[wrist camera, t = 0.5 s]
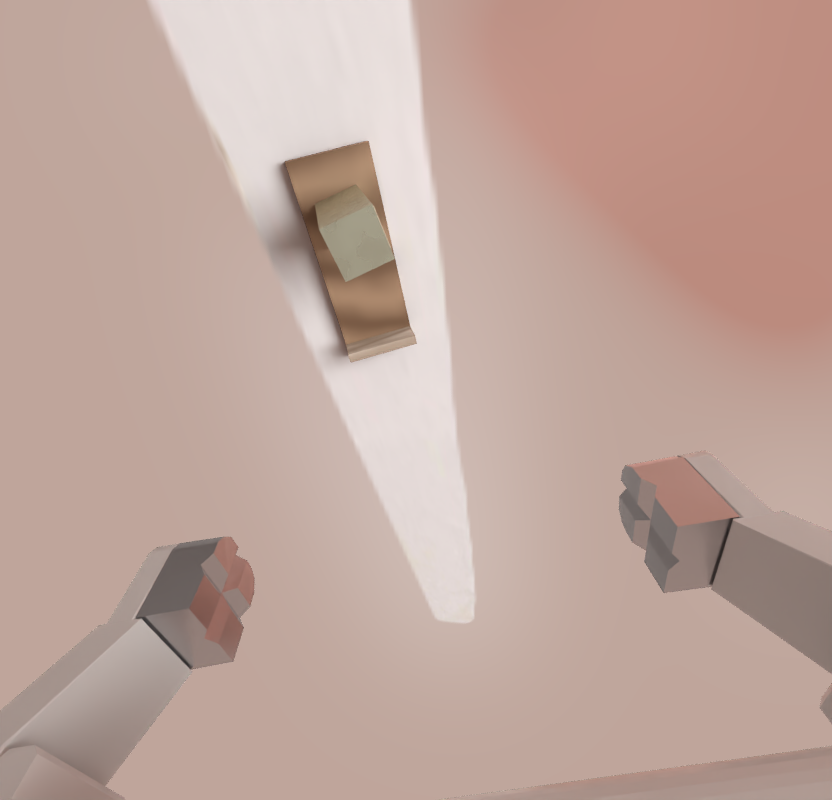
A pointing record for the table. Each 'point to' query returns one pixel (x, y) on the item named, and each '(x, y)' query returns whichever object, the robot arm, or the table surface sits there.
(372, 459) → the table surface
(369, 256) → the tea tin
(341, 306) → the shelf board
